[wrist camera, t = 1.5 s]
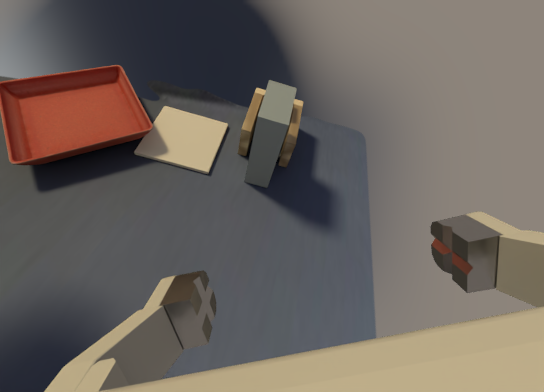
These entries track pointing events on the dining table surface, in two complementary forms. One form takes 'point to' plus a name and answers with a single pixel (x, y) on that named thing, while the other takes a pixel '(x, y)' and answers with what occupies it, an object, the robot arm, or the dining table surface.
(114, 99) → the plant saucer
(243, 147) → the rack
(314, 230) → the dining table surface
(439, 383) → the robot arm
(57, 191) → the dining table surface
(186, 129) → the felt mat
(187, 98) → the dining table surface
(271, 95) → the grey rectangular block
